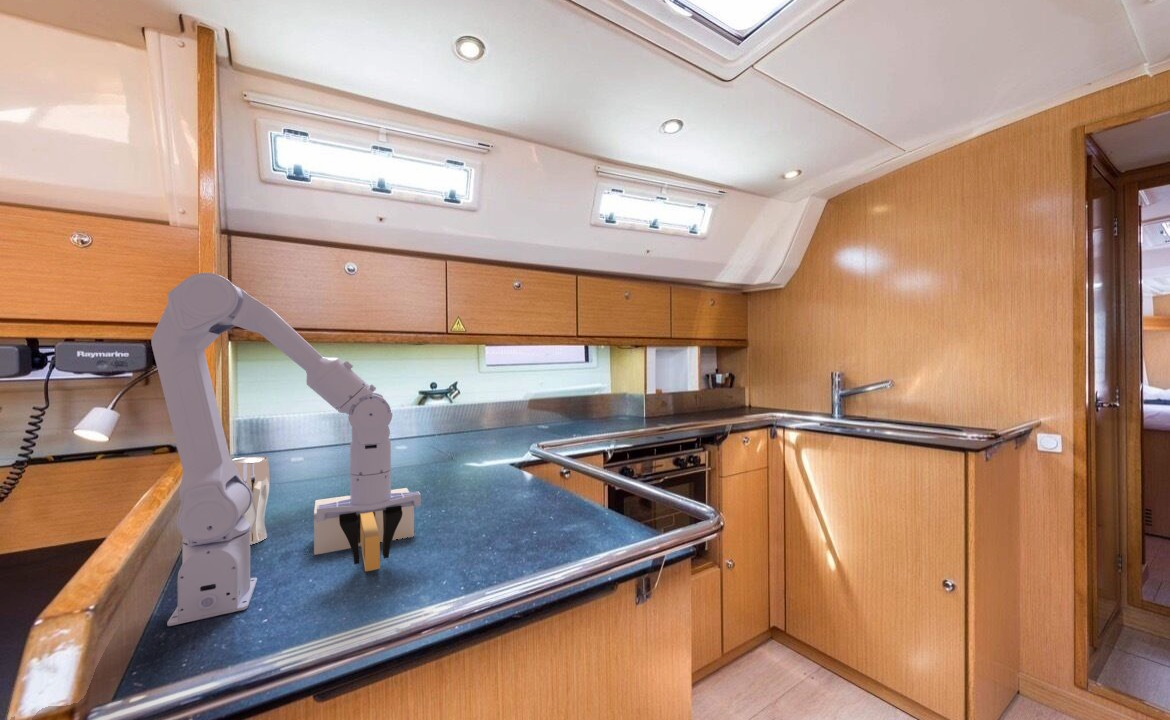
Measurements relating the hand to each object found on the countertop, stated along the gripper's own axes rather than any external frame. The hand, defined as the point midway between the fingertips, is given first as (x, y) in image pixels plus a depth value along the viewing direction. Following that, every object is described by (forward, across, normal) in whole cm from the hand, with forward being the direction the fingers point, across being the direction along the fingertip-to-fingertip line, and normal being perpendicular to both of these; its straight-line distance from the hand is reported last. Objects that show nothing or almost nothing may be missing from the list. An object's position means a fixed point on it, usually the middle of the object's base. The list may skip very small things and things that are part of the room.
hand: (371, 558), depth 70 cm
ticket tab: (+1, 0, -4) cm, 5 cm away
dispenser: (+2, 0, -16) cm, 16 cm away
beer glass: (+2, +19, -25) cm, 31 cm away
